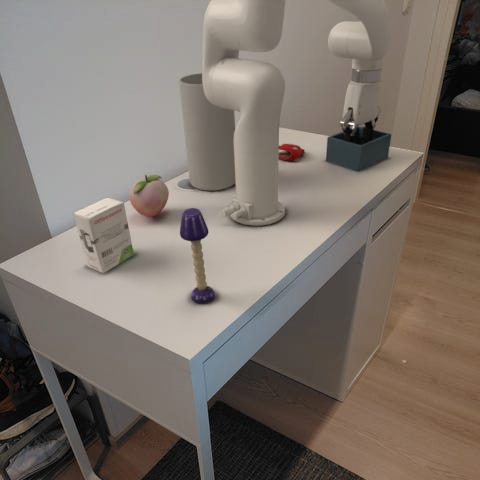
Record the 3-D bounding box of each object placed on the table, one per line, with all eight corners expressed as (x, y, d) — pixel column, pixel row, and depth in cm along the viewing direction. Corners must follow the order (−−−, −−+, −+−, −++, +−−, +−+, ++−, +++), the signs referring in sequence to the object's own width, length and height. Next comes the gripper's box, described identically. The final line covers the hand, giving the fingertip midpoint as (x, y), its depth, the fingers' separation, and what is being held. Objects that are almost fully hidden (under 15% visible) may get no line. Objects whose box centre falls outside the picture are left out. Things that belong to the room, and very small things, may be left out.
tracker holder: (300, 144, 144) (311, 147, 135) (297, 160, 146) (308, 163, 137) (261, 139, 141) (270, 140, 132) (259, 154, 143) (267, 157, 134)
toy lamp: (207, 307, 84) (199, 219, 73) (183, 302, 85) (171, 215, 75) (218, 292, 87) (211, 206, 77) (195, 287, 89) (185, 202, 78)
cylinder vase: (181, 181, 129) (169, 78, 113) (219, 169, 134) (213, 70, 119) (207, 196, 121) (198, 87, 105) (246, 182, 126) (243, 78, 111)
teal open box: (358, 171, 129) (361, 146, 125) (325, 161, 136) (327, 137, 132) (387, 158, 136) (391, 133, 132) (355, 149, 143) (357, 125, 139)
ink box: (119, 248, 101) (107, 195, 94) (135, 255, 99) (124, 201, 92) (86, 266, 96) (71, 212, 89) (103, 274, 94) (89, 218, 86)
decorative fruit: (146, 205, 117) (139, 165, 111) (176, 210, 115) (171, 169, 109) (125, 222, 111) (116, 180, 104) (156, 228, 108) (149, 185, 102)
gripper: (374, 68, 130) (365, 136, 140) (332, 79, 121) (326, 151, 131) (398, 72, 125) (387, 141, 136) (356, 84, 116) (349, 157, 127)
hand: (357, 145), depth 134 cm, fingers closed on creature, 7 cm apart
